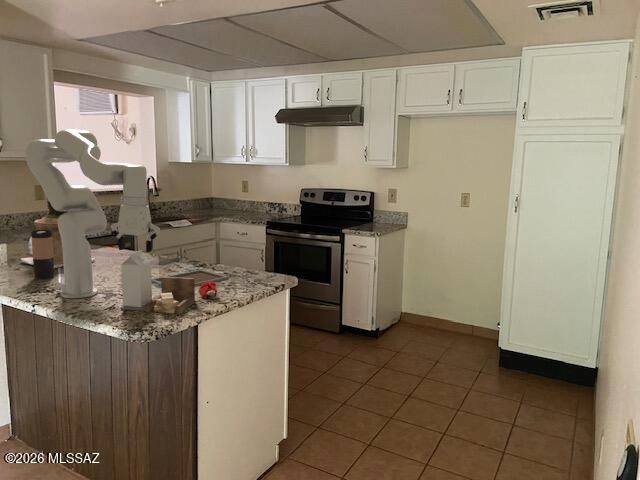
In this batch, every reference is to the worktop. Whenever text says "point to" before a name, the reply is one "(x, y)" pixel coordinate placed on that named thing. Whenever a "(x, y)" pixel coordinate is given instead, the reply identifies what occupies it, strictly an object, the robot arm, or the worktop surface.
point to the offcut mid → (167, 304)
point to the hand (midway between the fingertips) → (135, 250)
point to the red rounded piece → (207, 288)
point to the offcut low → (164, 309)
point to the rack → (176, 293)
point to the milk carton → (136, 280)
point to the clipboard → (195, 277)
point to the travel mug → (42, 254)
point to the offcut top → (166, 298)
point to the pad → (133, 308)
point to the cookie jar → (52, 224)
